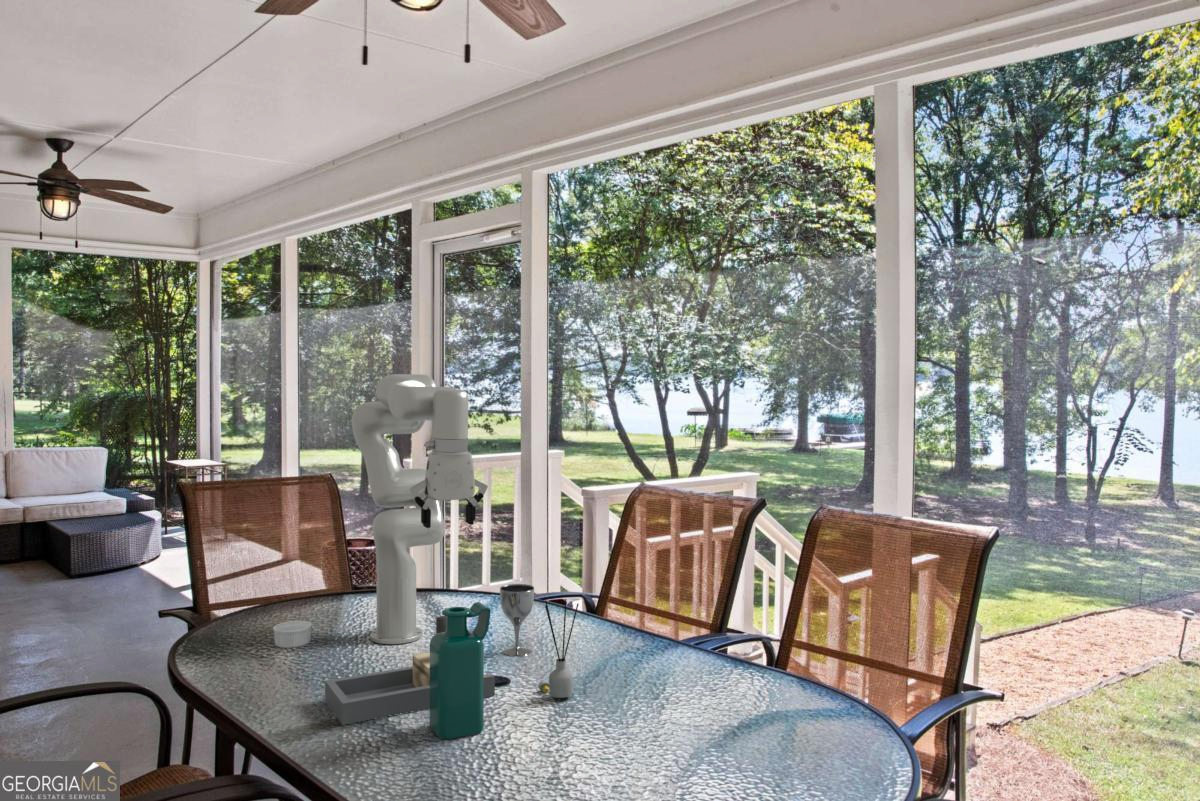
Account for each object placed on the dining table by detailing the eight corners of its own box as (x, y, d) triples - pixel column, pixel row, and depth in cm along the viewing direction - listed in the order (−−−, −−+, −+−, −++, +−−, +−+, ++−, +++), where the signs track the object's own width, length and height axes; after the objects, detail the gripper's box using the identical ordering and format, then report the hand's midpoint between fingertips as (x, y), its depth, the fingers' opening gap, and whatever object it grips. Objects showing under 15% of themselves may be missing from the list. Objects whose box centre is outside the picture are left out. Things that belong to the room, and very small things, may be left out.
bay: (325, 701, 167) (325, 679, 167) (468, 675, 183) (468, 656, 182) (342, 725, 155) (342, 702, 155) (494, 696, 170) (494, 675, 170)
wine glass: (536, 647, 203) (536, 584, 203) (530, 657, 195) (530, 592, 195) (503, 646, 204) (503, 583, 203) (496, 656, 196) (496, 591, 196)
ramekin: (304, 649, 201) (304, 631, 201) (266, 648, 201) (266, 630, 201) (317, 638, 210) (317, 620, 210) (281, 637, 210) (281, 620, 210)
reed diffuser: (586, 698, 169) (586, 598, 169) (565, 709, 164) (565, 605, 163) (546, 687, 175) (546, 591, 175) (524, 697, 170) (524, 597, 169)
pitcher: (440, 742, 148) (440, 616, 148) (426, 725, 156) (427, 605, 155) (493, 732, 153) (494, 609, 152) (478, 716, 160) (478, 599, 160)
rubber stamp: (412, 683, 174) (412, 615, 174) (458, 675, 179) (459, 609, 179) (428, 698, 166) (428, 627, 166) (476, 689, 171) (476, 620, 171)
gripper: (415, 449, 176) (414, 531, 177) (494, 447, 184) (492, 525, 185) (405, 445, 182) (404, 524, 183) (481, 443, 191) (479, 519, 192)
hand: (448, 525), depth 184 cm, fingers open, 9 cm apart
